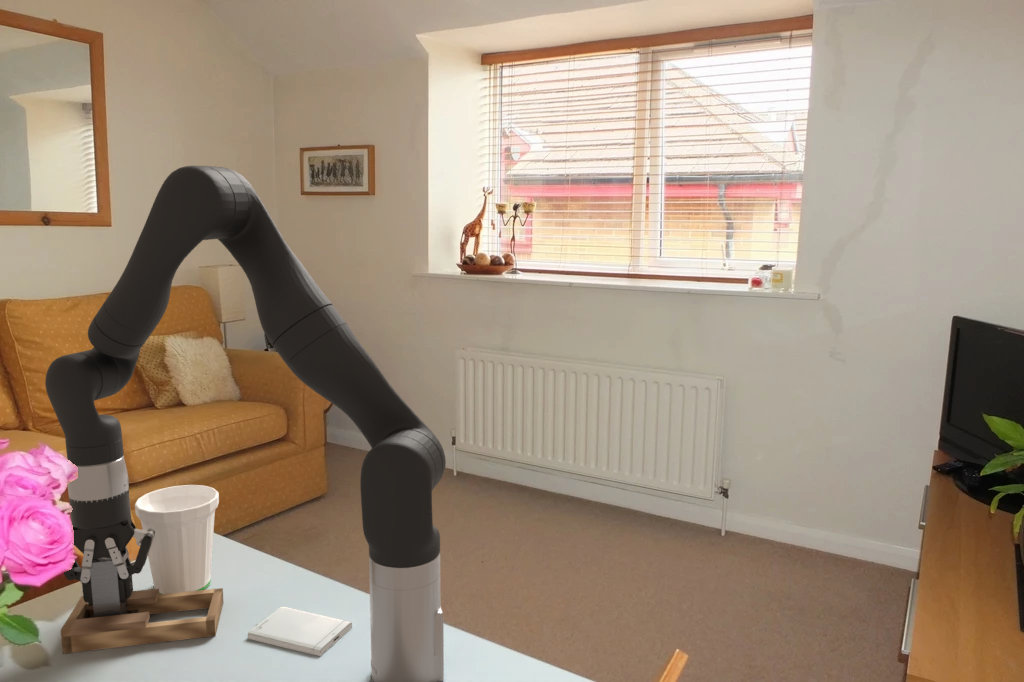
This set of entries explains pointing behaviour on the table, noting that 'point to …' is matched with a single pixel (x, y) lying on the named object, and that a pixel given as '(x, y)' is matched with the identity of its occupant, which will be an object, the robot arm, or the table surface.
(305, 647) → the hard drive
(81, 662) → the table surface
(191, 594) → the rail
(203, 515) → the cup
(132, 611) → the t peg
